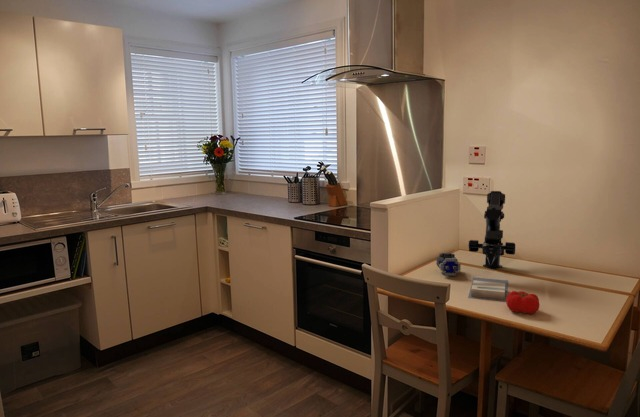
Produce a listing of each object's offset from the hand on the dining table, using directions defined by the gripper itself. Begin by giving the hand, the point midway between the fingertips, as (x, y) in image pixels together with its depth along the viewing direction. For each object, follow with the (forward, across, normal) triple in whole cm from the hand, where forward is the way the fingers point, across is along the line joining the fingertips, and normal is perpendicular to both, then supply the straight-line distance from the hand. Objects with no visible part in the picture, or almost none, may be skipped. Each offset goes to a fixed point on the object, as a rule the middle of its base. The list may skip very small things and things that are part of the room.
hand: (490, 264), depth 197 cm
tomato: (+27, +12, -15) cm, 33 cm away
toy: (+1, -18, +11) cm, 21 cm away
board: (+11, 0, -2) cm, 11 cm away
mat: (+12, 0, -1) cm, 12 cm away
